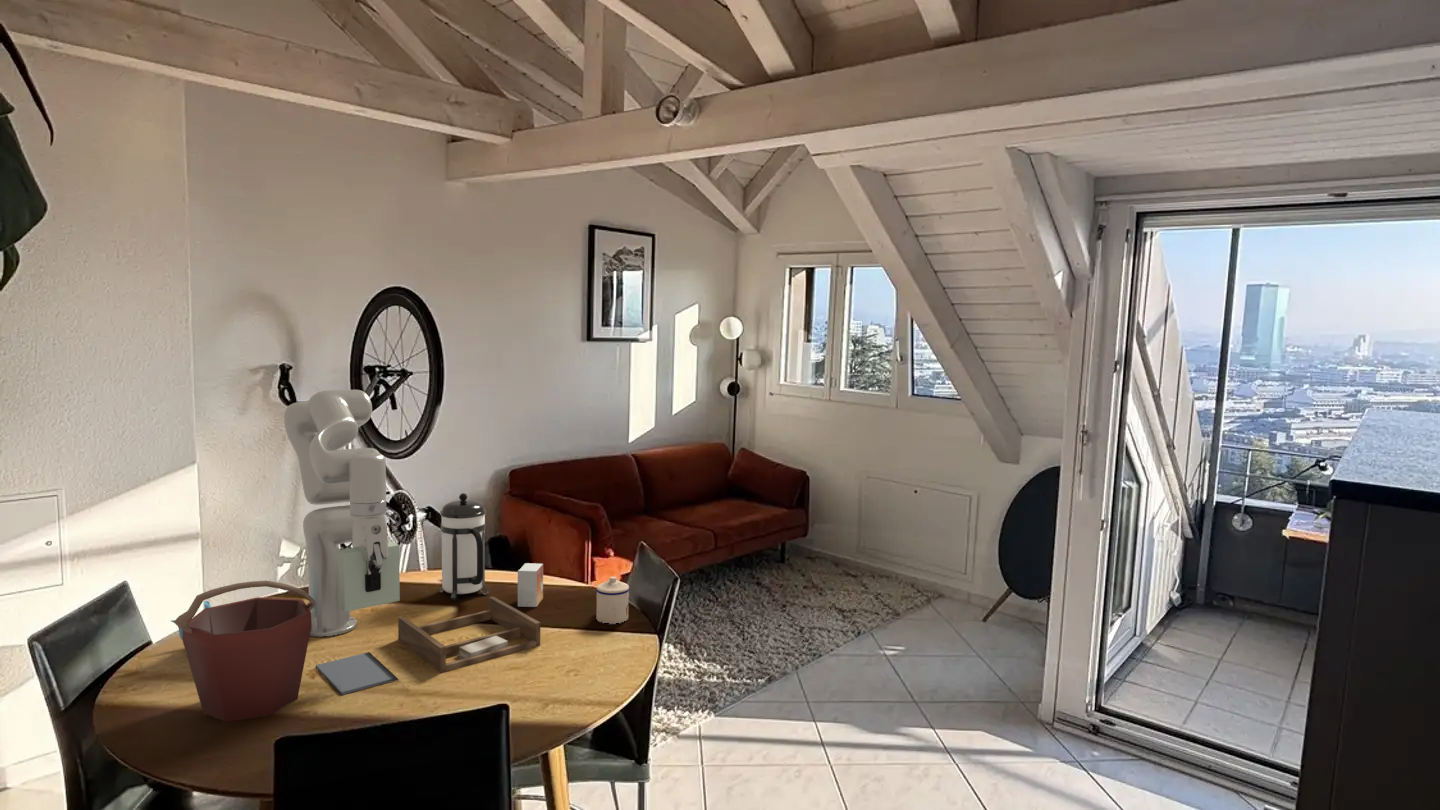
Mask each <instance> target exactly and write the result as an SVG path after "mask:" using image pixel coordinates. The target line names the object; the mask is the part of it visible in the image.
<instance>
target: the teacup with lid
mask: <svg viewBox="0 0 1440 810" xmlns="http://www.w3.org/2000/svg"><path fill="white" fill-rule="evenodd" d="M595 591H596V620H597V622H598V623H601V622H602V623H601V624H604V623H609V624H608V625H617V624H616V623H619V624H622V622H623V623H625V622H626V621H627V620H629V599H630V597H629V596H630V594H629V591H631V589H630V586H629V584H627V583H625V582H623V581H620V580H618V579H617V577H616V576H610V577H608V580H606V581H605V582H601V583H599V584H597V586H596V588H595ZM624 621H625V622H624Z"/></svg>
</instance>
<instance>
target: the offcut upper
mask: <svg viewBox="0 0 1440 810" xmlns="http://www.w3.org/2000/svg"><path fill="white" fill-rule="evenodd" d="M508 646H509V641H507V640H505V639H502V638H500V637H498V636H493V637H490V638H487V639H484V640H481V641H477V642H474V643H471V644H468V645H465V646H462V647H459V655H460V656H462V657H464V658H469V657H472V656H476V655H480V654H483V653H487V652H491V651H495V650H498V649H502V648H506V647H508Z"/></svg>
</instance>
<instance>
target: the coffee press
mask: <svg viewBox="0 0 1440 810" xmlns="http://www.w3.org/2000/svg"><path fill="white" fill-rule="evenodd" d="M458 498H459V500H454V501H450V502H448V503H446V504H444V505H443V507H442V509H441V510H440V511H439V514H440V516H441V517H440V518H441V524H440V532H441V584H440V586H439V588H438V589H437V591H438V593H443V592H446V593H448V594H450V595H451V596H450V601H452V602H456V601H458V598H459V596H460V595H465V594H472V593H475V592H479V593H481V594H482V595H483V596H486V595H487V594H489V593H490V592H489V589H488V587H487V586H486V575H485V573H486V566H485V565H486V559H485V558H486V549H485V546H486V544H485V542H486V540H485V539H486V537H485V536H486V533H485V532H486V531H485V530H486V518H485V516H486V513H487V509H486V508H485V507H484V505H483V503H481V502H479V501H476V500H471V499H468V495H467V494H466V493H460V495H459V497H458ZM441 588H442V589H441ZM482 588H483V590H482Z"/></svg>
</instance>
